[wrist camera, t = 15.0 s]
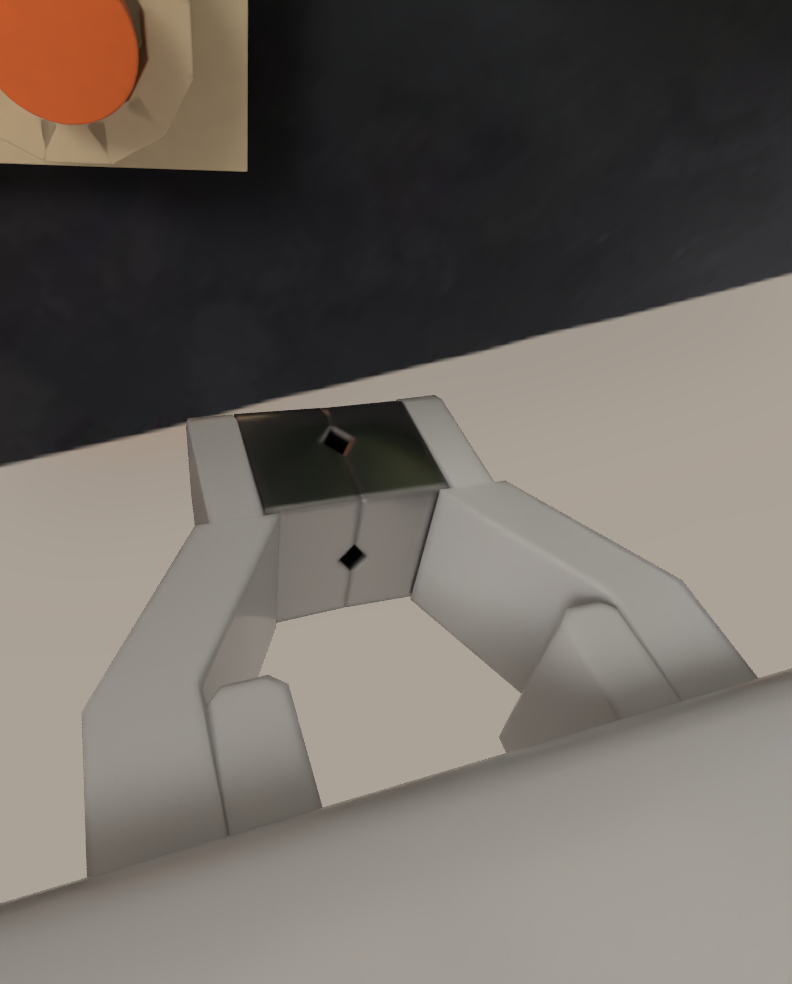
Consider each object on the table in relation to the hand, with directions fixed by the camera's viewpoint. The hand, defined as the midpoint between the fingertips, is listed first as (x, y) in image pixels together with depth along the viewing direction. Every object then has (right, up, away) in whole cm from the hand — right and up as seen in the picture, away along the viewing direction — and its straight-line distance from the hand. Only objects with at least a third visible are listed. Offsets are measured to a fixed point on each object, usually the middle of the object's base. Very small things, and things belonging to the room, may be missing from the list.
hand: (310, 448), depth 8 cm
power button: (-7, +11, +9) cm, 16 cm away
